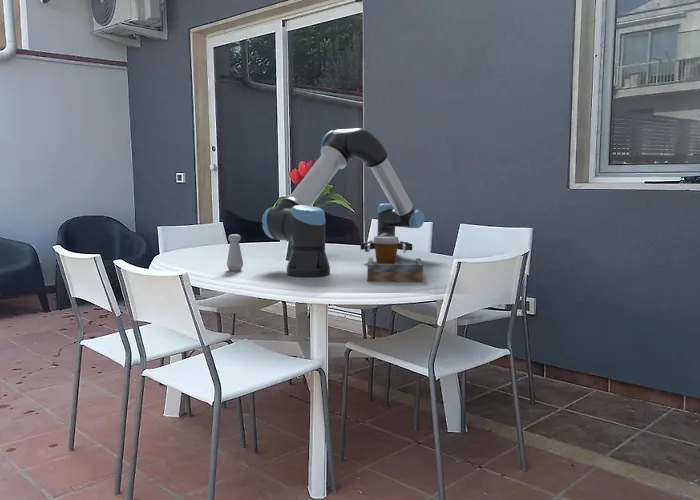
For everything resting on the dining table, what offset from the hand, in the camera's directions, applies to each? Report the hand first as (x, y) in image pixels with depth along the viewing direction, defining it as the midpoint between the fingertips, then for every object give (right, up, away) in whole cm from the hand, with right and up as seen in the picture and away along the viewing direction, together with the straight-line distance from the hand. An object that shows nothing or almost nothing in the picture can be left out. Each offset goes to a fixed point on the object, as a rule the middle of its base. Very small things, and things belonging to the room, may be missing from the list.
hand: (386, 249), depth 227 cm
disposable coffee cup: (-1, -8, -8) cm, 11 cm away
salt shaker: (-55, -8, -12) cm, 57 cm away
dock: (+1, -10, -24) cm, 26 cm away
